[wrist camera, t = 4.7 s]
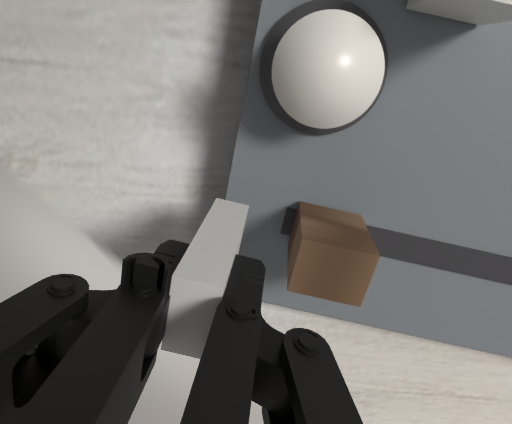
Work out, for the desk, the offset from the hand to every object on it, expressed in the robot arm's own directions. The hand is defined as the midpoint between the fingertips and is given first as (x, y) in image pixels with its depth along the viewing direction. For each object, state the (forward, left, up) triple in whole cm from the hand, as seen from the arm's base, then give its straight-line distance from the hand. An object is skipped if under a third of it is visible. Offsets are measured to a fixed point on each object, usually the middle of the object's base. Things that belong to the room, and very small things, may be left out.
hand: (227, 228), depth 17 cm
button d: (+3, +7, -1) cm, 8 cm away
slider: (+5, 0, -2) cm, 5 cm away
